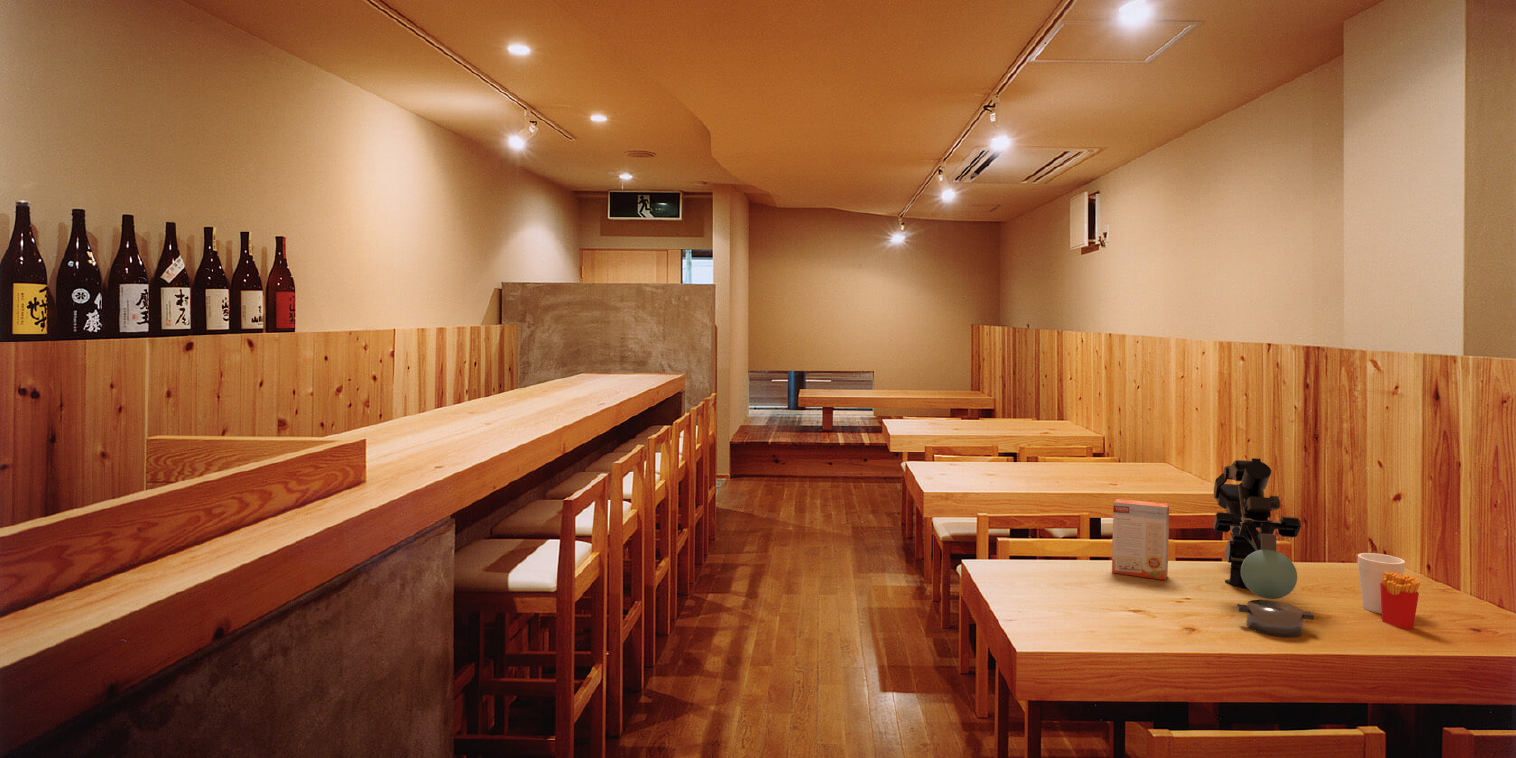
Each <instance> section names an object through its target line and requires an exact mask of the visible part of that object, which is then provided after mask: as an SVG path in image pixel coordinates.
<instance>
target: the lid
mask: <svg viewBox="0 0 1516 758" xmlns="http://www.w3.org/2000/svg"><path fill="white" fill-rule="evenodd" d="M1241 577H1242V580H1243V582H1244V584H1245V585H1246V587H1247V588H1248V590H1249V591H1250V592H1251V593H1252V594H1254V595H1256V596H1257V597H1261V598H1263V599H1266V600H1277V599H1281V598H1284V597H1287V596H1288V595H1289V594H1291V592H1293V590H1294V589H1295V588H1296V586H1297V582H1298V572H1297V568H1296V566H1295V565H1294V563H1293V562H1292V560H1291V559H1290V558H1289V557H1287V556H1286V555H1285V554H1283V553H1281V552H1280V551H1278V550H1277V534H1274V533H1273V534H1261V550H1258V551H1255V552H1253V553H1251V554H1250V555H1248V556H1247V557H1246V558H1245V560H1244V561H1243V563H1242V566H1241Z"/></svg>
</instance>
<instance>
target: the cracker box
mask: <svg viewBox="0 0 1516 758" xmlns="http://www.w3.org/2000/svg"><path fill="white" fill-rule="evenodd" d="M1112 509H1113V510H1112V511H1113V512H1112V545H1111V546H1112V551H1111V553H1112V554H1111V573H1112V574H1118V575H1119V574H1120V575H1125V576H1126V575H1127V576H1131V577H1133V576H1134V577H1141V578H1146V579H1153V580H1159V581H1166V580H1167V577H1168V574H1169V572H1168V570H1169V569H1168V568H1169V565H1168V564H1169V534H1170V533H1169V530H1170V528H1169V527H1170V503H1166V502H1165V503H1164V502H1163V503H1162V502H1154V501H1145V500H1134V499H1125V498H1124V499H1123V498H1122V499H1121V498H1116V499H1115V500H1114V501H1113V507H1112Z"/></svg>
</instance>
